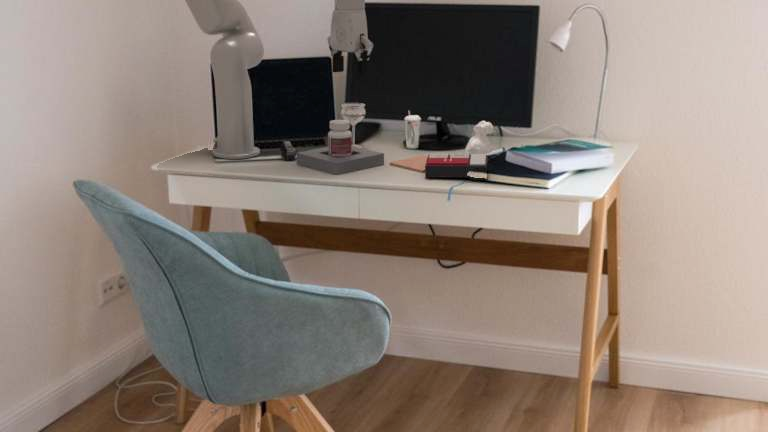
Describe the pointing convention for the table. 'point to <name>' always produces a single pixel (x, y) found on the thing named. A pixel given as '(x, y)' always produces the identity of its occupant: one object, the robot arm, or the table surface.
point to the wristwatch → (287, 151)
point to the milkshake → (412, 130)
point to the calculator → (454, 164)
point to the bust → (480, 139)
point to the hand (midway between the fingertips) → (349, 74)
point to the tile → (412, 163)
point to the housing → (340, 160)
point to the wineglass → (353, 115)
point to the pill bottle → (339, 139)
